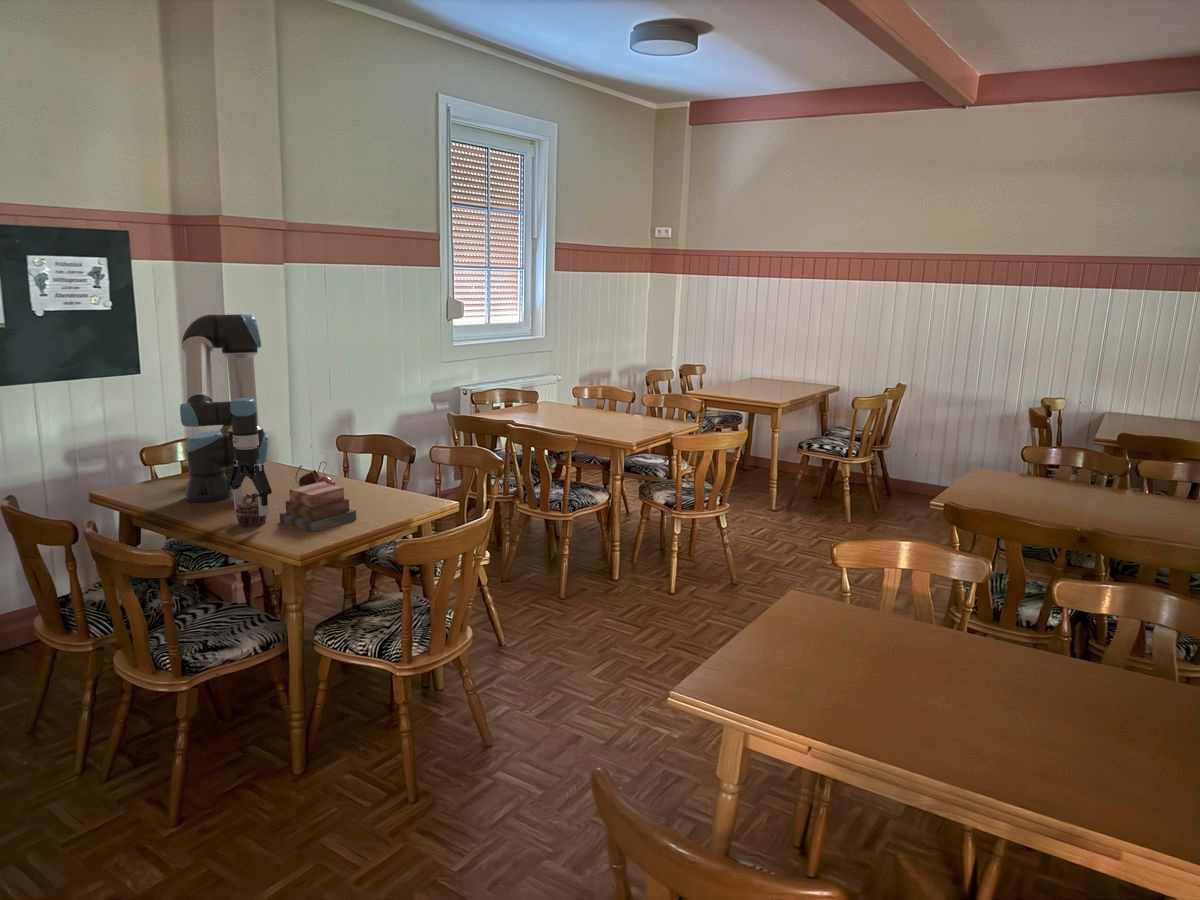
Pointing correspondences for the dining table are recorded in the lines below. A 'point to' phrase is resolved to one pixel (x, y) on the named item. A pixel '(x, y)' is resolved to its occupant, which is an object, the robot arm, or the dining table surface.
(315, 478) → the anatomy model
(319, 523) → the stepped pyramid block
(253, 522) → the cupcake
